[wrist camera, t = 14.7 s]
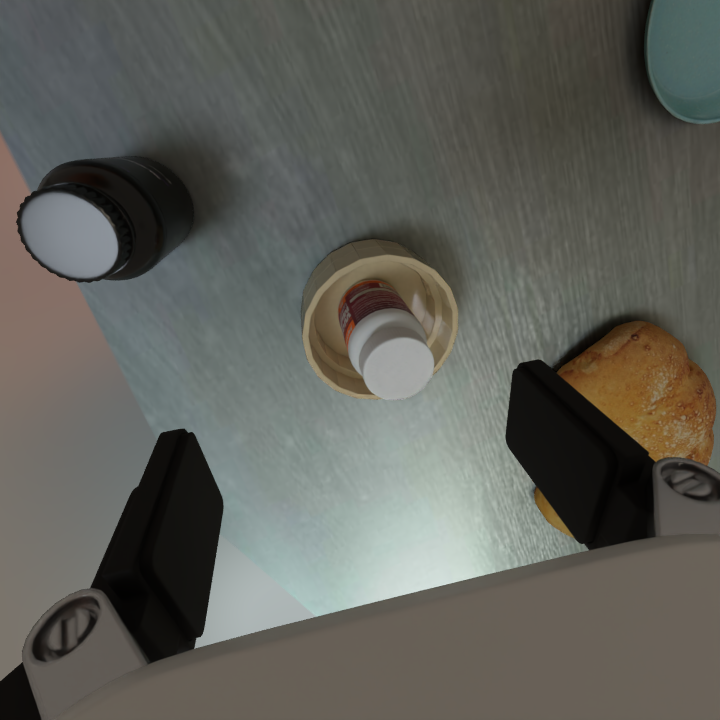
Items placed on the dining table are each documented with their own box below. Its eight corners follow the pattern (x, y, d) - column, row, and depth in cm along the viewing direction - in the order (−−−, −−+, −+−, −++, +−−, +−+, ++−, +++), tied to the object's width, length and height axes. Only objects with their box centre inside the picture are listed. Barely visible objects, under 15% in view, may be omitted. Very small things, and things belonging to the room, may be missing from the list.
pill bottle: (327, 292, 35) (342, 350, 25) (391, 267, 35) (430, 316, 25) (349, 347, 38) (370, 418, 28) (408, 325, 38) (449, 388, 28)
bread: (648, 489, 59) (709, 548, 50) (525, 520, 58) (566, 586, 49) (713, 293, 43) (820, 331, 34) (543, 331, 41) (609, 381, 33)
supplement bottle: (173, 146, 28) (106, 148, 18) (208, 239, 32) (169, 286, 21) (79, 165, 28) (-45, 180, 18) (125, 257, 31) (45, 315, 21)
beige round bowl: (315, 376, 40) (318, 411, 35) (287, 251, 33) (287, 271, 28) (436, 353, 41) (457, 384, 35) (433, 227, 34) (458, 242, 29)
